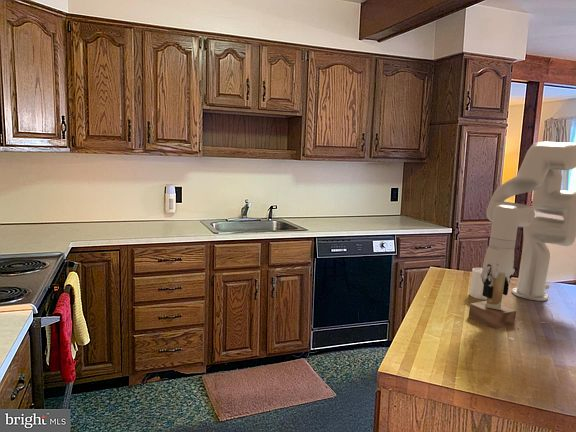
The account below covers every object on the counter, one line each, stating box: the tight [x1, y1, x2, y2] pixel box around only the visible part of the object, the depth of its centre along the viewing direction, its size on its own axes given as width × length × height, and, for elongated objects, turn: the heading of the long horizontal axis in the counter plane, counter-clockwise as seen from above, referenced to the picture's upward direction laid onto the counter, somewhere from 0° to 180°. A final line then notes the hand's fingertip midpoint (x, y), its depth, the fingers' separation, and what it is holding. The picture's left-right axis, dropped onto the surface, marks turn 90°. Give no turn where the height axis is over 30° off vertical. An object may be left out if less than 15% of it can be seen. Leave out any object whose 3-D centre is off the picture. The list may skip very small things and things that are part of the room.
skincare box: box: [486, 273, 506, 310], centre depth 145 cm, size 6×4×12 cm
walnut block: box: [468, 300, 517, 329], centre depth 147 cm, size 10×10×5 cm
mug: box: [469, 267, 490, 301], centre depth 168 cm, size 12×8×10 cm
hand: (494, 295), depth 146 cm, fingers closed on skincare box, 7 cm apart
